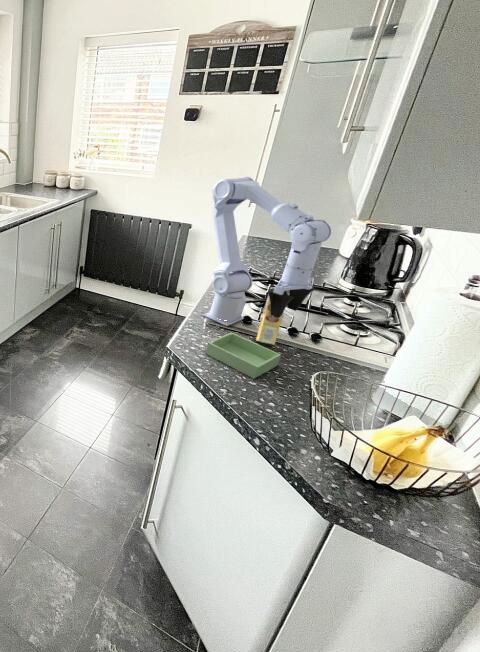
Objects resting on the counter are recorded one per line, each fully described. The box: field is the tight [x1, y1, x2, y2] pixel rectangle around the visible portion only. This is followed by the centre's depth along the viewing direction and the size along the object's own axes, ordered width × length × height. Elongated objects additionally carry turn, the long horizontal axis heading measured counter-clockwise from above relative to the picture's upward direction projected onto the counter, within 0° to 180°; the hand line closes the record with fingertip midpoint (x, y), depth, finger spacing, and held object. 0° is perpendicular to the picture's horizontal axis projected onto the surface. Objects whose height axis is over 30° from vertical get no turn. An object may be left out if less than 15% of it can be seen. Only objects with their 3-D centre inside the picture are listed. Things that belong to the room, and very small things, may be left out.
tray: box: [204, 331, 282, 379], centre depth 114 cm, size 11×13×4 cm
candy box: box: [255, 287, 289, 346], centre depth 118 cm, size 9×4×15 cm, turn 146°
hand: (283, 312), depth 116 cm, fingers open, 7 cm apart
